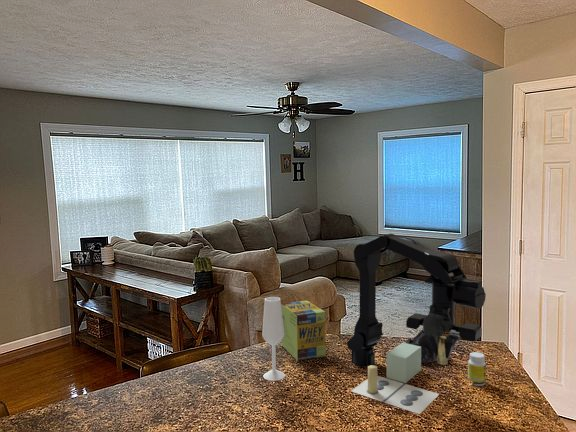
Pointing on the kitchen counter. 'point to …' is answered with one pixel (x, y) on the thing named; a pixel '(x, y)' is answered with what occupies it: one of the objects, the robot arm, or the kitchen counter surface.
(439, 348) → the brass pin
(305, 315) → the protein box
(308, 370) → the kitchen counter surface
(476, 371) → the supplement bottle
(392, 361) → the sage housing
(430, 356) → the black rough lump
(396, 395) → the board
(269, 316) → the champagne flute
